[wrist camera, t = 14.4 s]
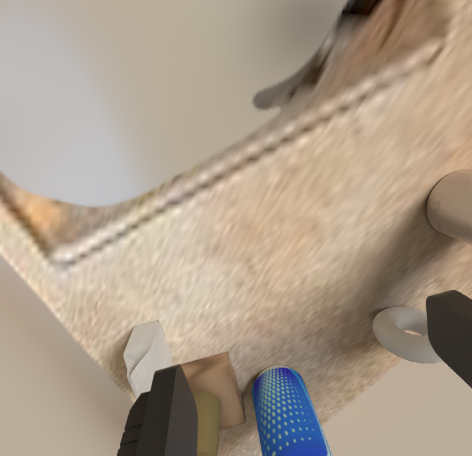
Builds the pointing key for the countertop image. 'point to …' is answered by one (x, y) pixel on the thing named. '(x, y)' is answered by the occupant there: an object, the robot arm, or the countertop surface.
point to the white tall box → (146, 355)
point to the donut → (405, 334)
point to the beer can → (286, 415)
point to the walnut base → (218, 386)
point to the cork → (208, 422)
